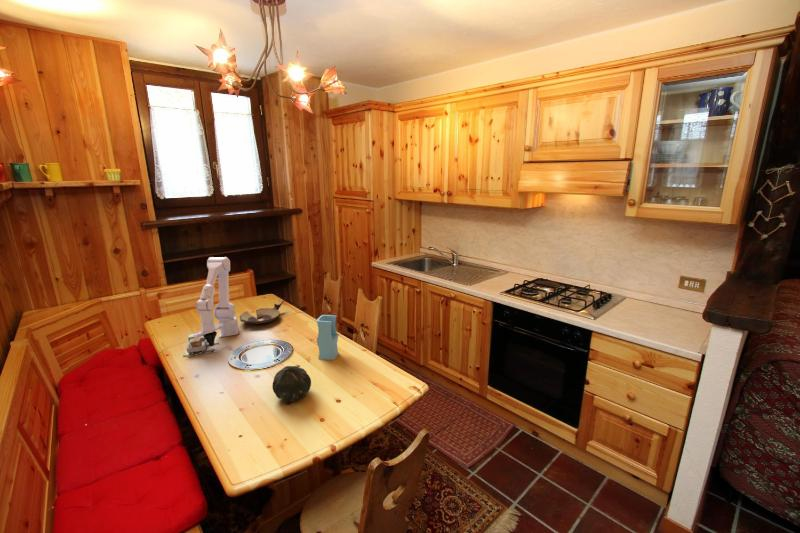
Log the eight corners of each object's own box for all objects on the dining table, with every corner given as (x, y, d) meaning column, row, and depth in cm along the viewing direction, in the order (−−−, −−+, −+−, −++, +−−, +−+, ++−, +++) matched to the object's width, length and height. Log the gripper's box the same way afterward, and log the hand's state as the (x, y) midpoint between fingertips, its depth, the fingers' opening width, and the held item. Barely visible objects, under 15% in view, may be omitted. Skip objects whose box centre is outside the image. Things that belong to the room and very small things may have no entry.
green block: (199, 340, 198) (197, 333, 197) (197, 344, 194) (196, 336, 193) (190, 341, 197) (189, 334, 195) (189, 345, 193) (188, 337, 192)
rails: (218, 342, 195) (218, 342, 195) (216, 351, 186) (216, 350, 186) (187, 347, 190) (187, 347, 190) (183, 356, 181) (183, 356, 181)
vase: (333, 360, 175) (330, 322, 170) (318, 359, 177) (315, 321, 172) (339, 352, 183) (336, 315, 177) (324, 351, 184) (321, 314, 179)
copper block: (202, 345, 187) (200, 337, 186) (200, 348, 183) (199, 340, 182) (193, 346, 186) (191, 338, 185) (191, 350, 182) (190, 342, 181)
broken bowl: (234, 321, 222) (232, 309, 220) (281, 308, 241) (280, 298, 239) (246, 333, 206) (244, 321, 204) (296, 318, 224) (295, 307, 222)
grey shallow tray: (208, 342, 194) (207, 336, 193) (205, 352, 184) (204, 345, 183) (191, 345, 191) (190, 339, 190) (187, 355, 181) (186, 348, 180)
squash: (301, 367, 159) (279, 354, 148) (323, 381, 150) (301, 367, 139) (281, 398, 154) (257, 386, 143) (303, 413, 145) (279, 402, 134)
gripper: (216, 315, 193) (219, 338, 197) (188, 325, 182) (193, 349, 185) (224, 317, 190) (227, 341, 193) (196, 328, 178) (201, 353, 182)
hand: (211, 345), depth 189 cm, fingers closed
